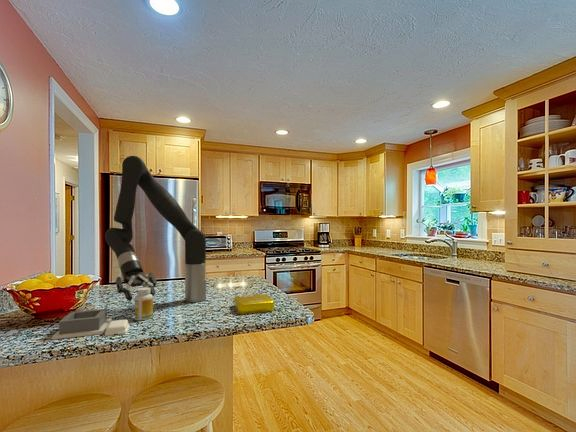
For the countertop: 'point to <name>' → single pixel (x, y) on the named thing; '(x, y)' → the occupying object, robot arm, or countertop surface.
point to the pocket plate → (83, 324)
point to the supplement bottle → (143, 304)
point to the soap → (117, 327)
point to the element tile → (253, 303)
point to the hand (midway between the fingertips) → (142, 297)
